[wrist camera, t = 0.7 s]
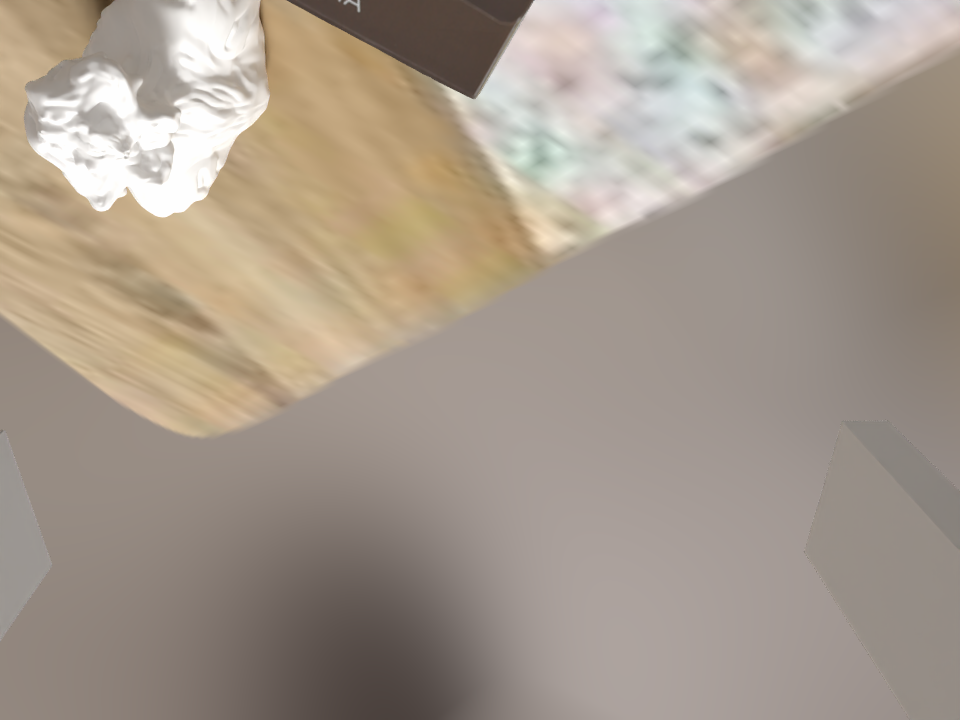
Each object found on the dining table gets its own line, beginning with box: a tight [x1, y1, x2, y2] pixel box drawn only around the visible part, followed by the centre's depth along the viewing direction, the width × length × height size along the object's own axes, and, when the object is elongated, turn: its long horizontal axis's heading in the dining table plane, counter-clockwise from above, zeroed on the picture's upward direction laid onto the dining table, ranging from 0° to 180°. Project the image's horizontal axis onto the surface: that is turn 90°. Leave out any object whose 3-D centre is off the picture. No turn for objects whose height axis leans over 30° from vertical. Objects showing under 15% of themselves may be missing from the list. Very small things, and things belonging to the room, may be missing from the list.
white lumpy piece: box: [24, 0, 270, 217], centre depth 28 cm, size 12×8×11 cm
